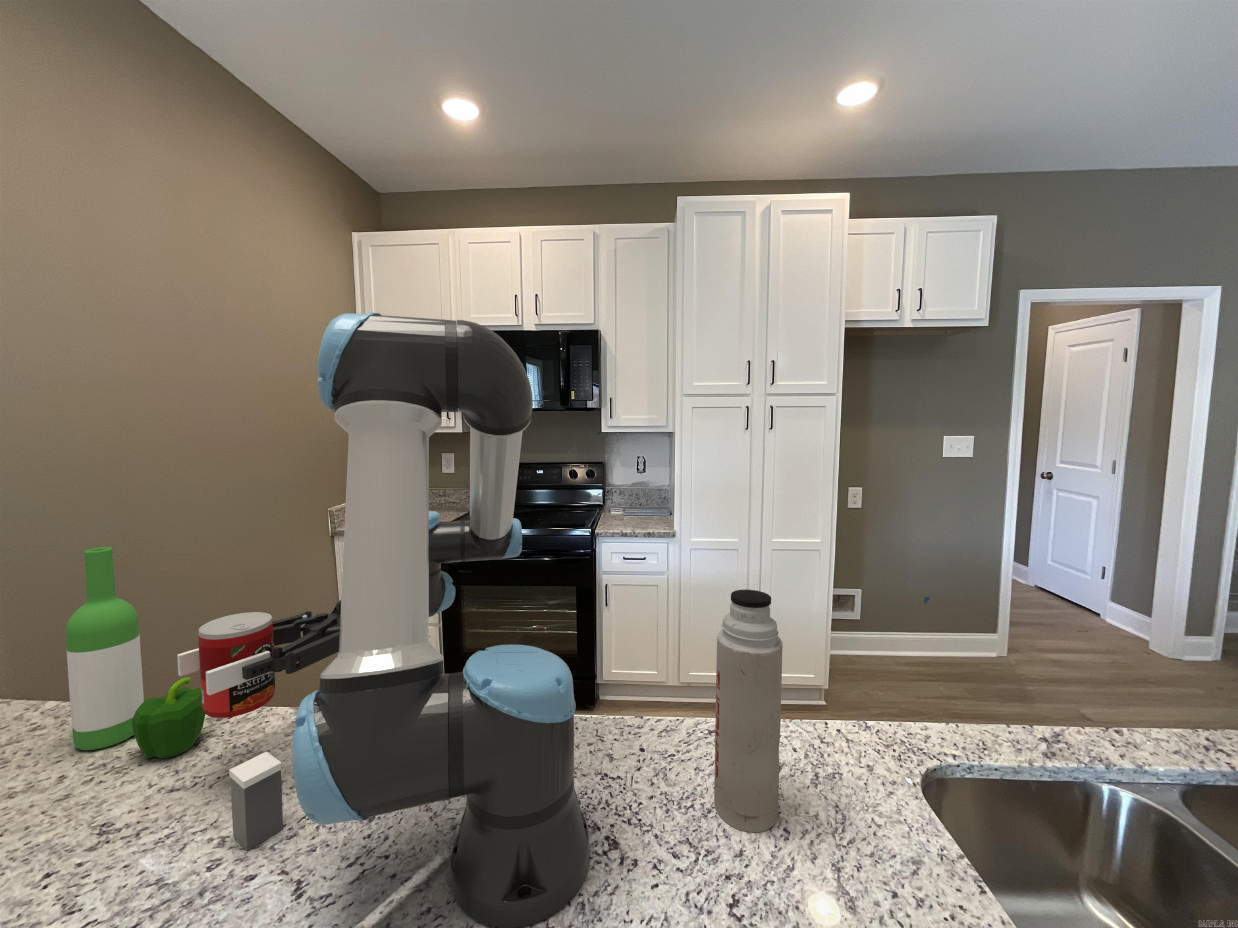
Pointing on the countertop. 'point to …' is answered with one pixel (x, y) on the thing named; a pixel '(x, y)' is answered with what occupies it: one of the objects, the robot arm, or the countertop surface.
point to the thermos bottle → (748, 714)
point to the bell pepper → (169, 721)
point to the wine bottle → (103, 659)
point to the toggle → (256, 800)
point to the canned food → (231, 644)
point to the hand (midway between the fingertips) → (192, 673)
